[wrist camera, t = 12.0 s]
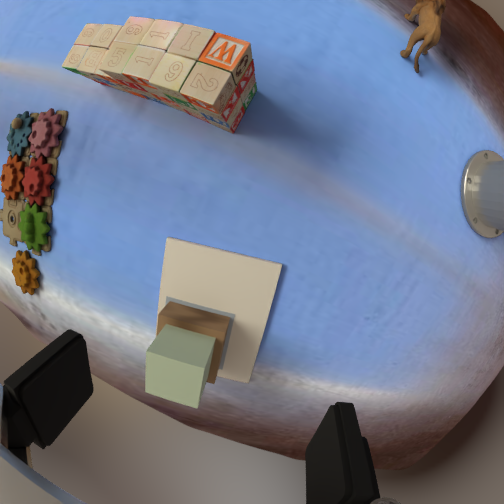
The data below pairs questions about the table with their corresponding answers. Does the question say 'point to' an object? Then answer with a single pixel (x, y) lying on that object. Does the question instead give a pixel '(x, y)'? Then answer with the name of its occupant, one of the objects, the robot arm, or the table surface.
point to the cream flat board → (222, 296)
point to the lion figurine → (425, 27)
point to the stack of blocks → (170, 66)
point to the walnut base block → (197, 328)
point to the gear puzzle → (30, 188)
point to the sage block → (179, 365)
